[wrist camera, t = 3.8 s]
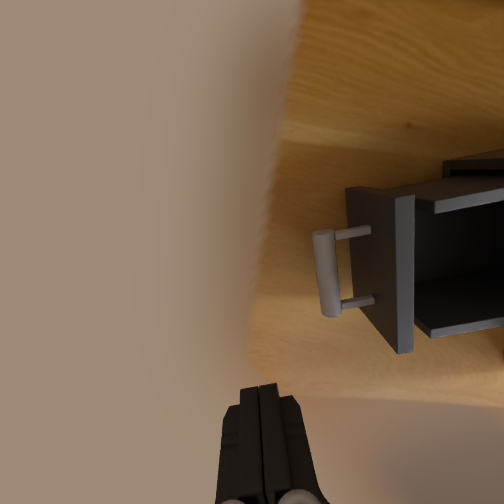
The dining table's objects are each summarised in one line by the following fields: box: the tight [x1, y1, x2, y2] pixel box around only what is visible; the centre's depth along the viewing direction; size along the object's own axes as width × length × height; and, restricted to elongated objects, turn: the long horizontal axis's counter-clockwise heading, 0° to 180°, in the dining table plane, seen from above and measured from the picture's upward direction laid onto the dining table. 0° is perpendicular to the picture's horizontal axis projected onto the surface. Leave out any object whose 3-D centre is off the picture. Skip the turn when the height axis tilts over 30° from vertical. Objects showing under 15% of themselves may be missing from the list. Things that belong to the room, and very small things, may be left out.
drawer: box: [312, 170, 504, 354], centre depth 20 cm, size 18×11×8 cm, turn 101°
